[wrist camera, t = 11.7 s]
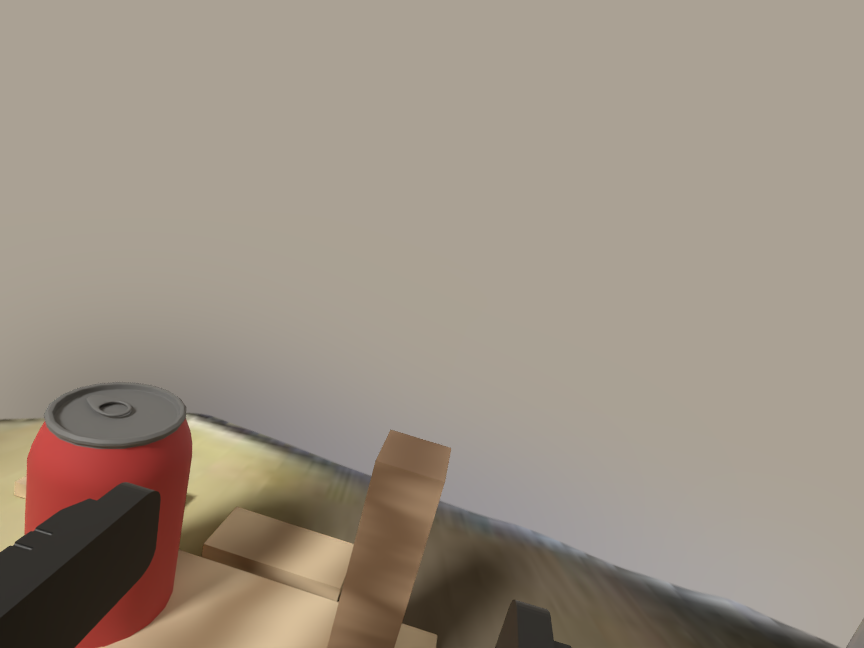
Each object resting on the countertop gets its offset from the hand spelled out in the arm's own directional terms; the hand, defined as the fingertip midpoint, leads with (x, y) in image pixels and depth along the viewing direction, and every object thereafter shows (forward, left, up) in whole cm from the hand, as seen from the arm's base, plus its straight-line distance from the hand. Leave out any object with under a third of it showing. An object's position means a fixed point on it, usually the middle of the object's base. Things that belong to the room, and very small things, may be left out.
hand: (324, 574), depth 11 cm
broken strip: (+12, -18, -17) cm, 27 cm away
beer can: (+13, -11, -17) cm, 24 cm away
